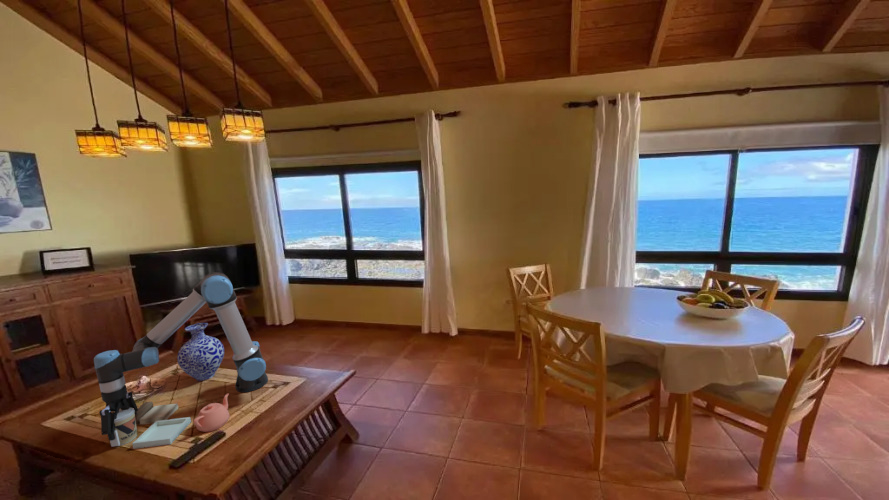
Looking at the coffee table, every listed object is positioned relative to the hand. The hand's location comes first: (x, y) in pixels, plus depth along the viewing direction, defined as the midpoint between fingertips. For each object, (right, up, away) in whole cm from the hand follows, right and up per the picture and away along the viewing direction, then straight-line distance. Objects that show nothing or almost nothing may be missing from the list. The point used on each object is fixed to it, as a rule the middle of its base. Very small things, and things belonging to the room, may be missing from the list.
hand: (124, 437), depth 145 cm
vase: (-1, +7, +50) cm, 50 cm away
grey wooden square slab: (+2, +1, +15) cm, 16 cm away
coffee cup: (0, -1, 0) cm, 1 cm away
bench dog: (-5, +1, +14) cm, 15 cm away
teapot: (+33, +2, +8) cm, 34 cm away
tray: (+15, 0, +2) cm, 15 cm away
